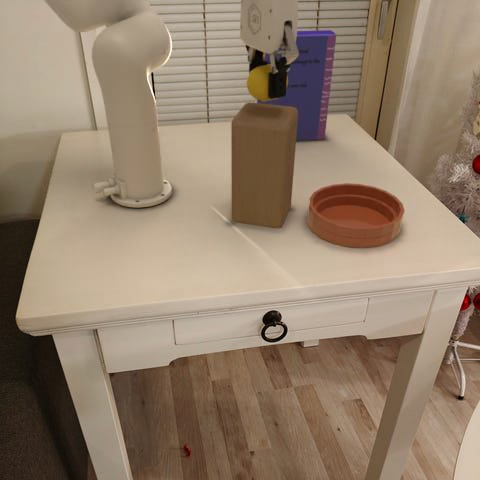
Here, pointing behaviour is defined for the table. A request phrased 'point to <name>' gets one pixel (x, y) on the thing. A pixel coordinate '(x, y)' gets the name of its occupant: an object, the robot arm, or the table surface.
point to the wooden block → (263, 163)
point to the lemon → (260, 82)
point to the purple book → (309, 83)
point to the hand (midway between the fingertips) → (267, 90)
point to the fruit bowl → (355, 215)
